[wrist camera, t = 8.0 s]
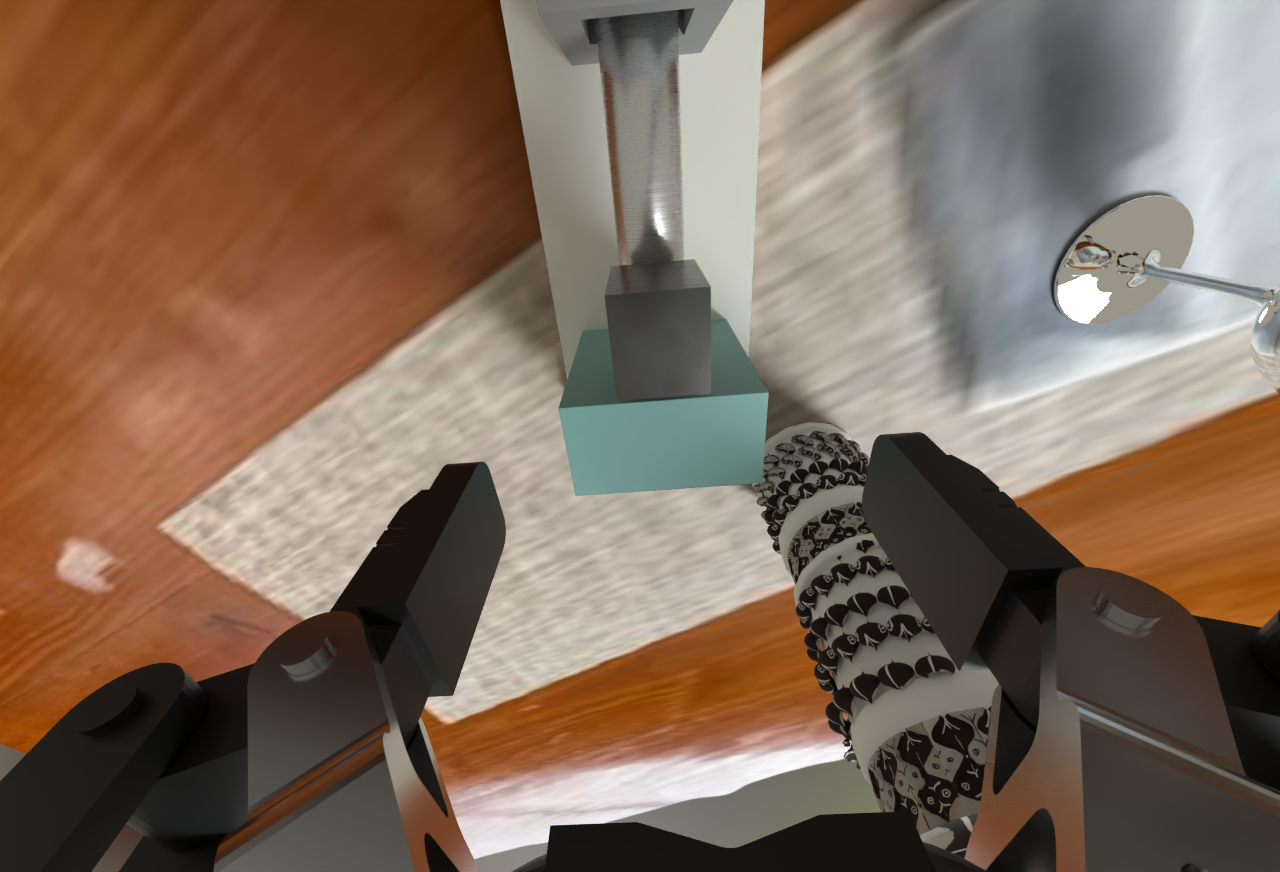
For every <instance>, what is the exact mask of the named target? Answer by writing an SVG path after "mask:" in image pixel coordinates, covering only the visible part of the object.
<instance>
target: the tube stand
mask: <svg viewBox="0 0 1280 872" xmlns="http://www.w3.org/2000/svg"><path fill="white" fill-rule="evenodd" d="M500 3H501V8H502V14H503V20H504V25H505V31H506V37H507V42H508V48H509V54H510V59H511V65H512V70H513V76H514V82H515V87H516V93H517V99H518V104H519V110H520V116H521V121H522V127H523V133H524V138H525V144H526V150H527V155H528V161H529V167H530V172H531V178H532V184H533V189H534V195H535V201H536V206H537V212H538V218H539V223H540V229H541V235H542V240H543V246H544V252H545V257H546V263H547V269H548V274H549V280H550V286H551V291H552V297H553V303H554V308H555V314H556V320H557V325H558V331H559V337H560V342H561V348H562V354H563V359H564V365H565V370H566V376H567V380H568V377H569V373H570V370H571V367H572V364H573V360H574V357H575V354H576V351H577V347H578V344H579V341H580V338H581V334H582V331H588V330H601V329H608V321H607V313H606V304H605V296H604V295H605V291H606V286H607V282H608V278H609V273H610V269H611V266H619V256H618V246H617V236H616V226H615V216H614V206H613V196H612V186H611V176H610V165H609V155H608V145H607V135H606V125H605V115H604V105H603V95H602V85H601V74H600V64H599V54H598V44H597V34H596V24H595V18H603V17H613V16H622V15H632V14H642V13H651V12H661V11H670V10H678V39H679V74H680V109H681V144H682V179H683V214H684V249H685V260H690V259H695V261H696V263H697V264H698V266H699V268H700V269H701V271H702V273H703V274H704V276H705V278H706V279H707V281H708V283H709V284H710V286H711V320H723V319H727V321H728V323H729V325H730V326H731V328H732V330H733V332H734V333H735V335H736V337H737V339H738V340H739V342H740V344H741V345H742V347H743V349H744V351H745V352H746V354H747V356H748V358H749V342H750V320H751V297H752V275H753V252H754V229H755V207H756V184H757V162H758V139H759V117H760V94H761V72H762V49H763V27H764V4H765V0H500Z"/></svg>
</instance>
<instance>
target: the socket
mask: <svg viewBox="0 0 1280 872" xmlns="http://www.w3.org/2000/svg"><path fill="white" fill-rule="evenodd" d="M768 394H769V392H768V391H767V389H766V387H765V385H764V384H763V382H762V380H761V378H760V377H759V375H758V373H757V371H756V370H755V368H754V366H753V365H752V363H751V361H750V359H749V358H748V356H747V354H746V352H745V351H744V349H743V347H742V345H741V344H740V342H739V340H738V339H737V337H736V335H735V333H734V332H733V330H732V328H731V326H730V325H729V323H728V321H727V319H723V320H711V394H700V395H687V396H674V397H661V398H648V399H635V400H621V401H617V397H616V388H615V380H614V372H613V363H612V355H611V346H610V338H609V329H601V330H588V331H582V334H581V338H580V341H579V344H578V347H577V351H576V354H575V357H574V360H573V364H572V367H571V370H570V373H569V377H568V380H567V383H566V386H565V390H564V393H563V396H562V399H561V403H560V406H559V413H560V418H561V423H562V428H563V433H564V439H565V444H566V449H567V454H568V459H569V464H570V470H571V475H572V480H573V485H574V490H575V495H576V496H584V495H598V494H612V493H627V492H641V491H655V490H670V489H684V488H698V487H712V486H727V485H741V484H755V483H762V479H763V465H764V451H765V437H766V422H767V408H768Z"/></svg>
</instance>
